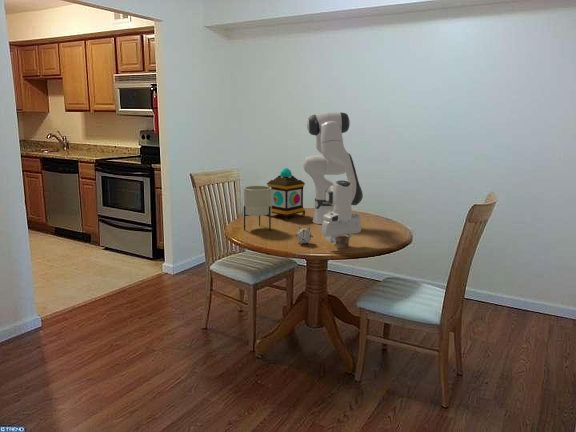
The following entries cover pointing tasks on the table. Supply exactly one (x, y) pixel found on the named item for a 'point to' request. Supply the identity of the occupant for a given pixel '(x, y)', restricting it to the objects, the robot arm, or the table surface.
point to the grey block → (329, 238)
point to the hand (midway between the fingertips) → (341, 243)
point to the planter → (258, 202)
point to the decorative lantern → (287, 194)
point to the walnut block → (342, 241)
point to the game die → (304, 235)
